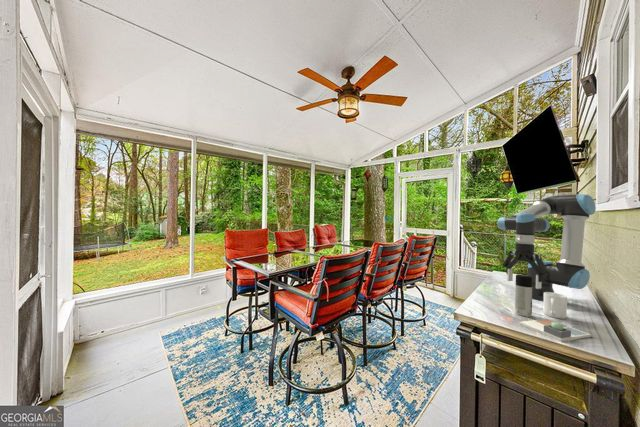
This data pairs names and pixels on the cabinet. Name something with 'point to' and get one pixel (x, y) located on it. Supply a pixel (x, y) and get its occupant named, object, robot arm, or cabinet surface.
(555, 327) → the button
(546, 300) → the mug
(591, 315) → the cabinet surface
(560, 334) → the picture board
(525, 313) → the spray can
